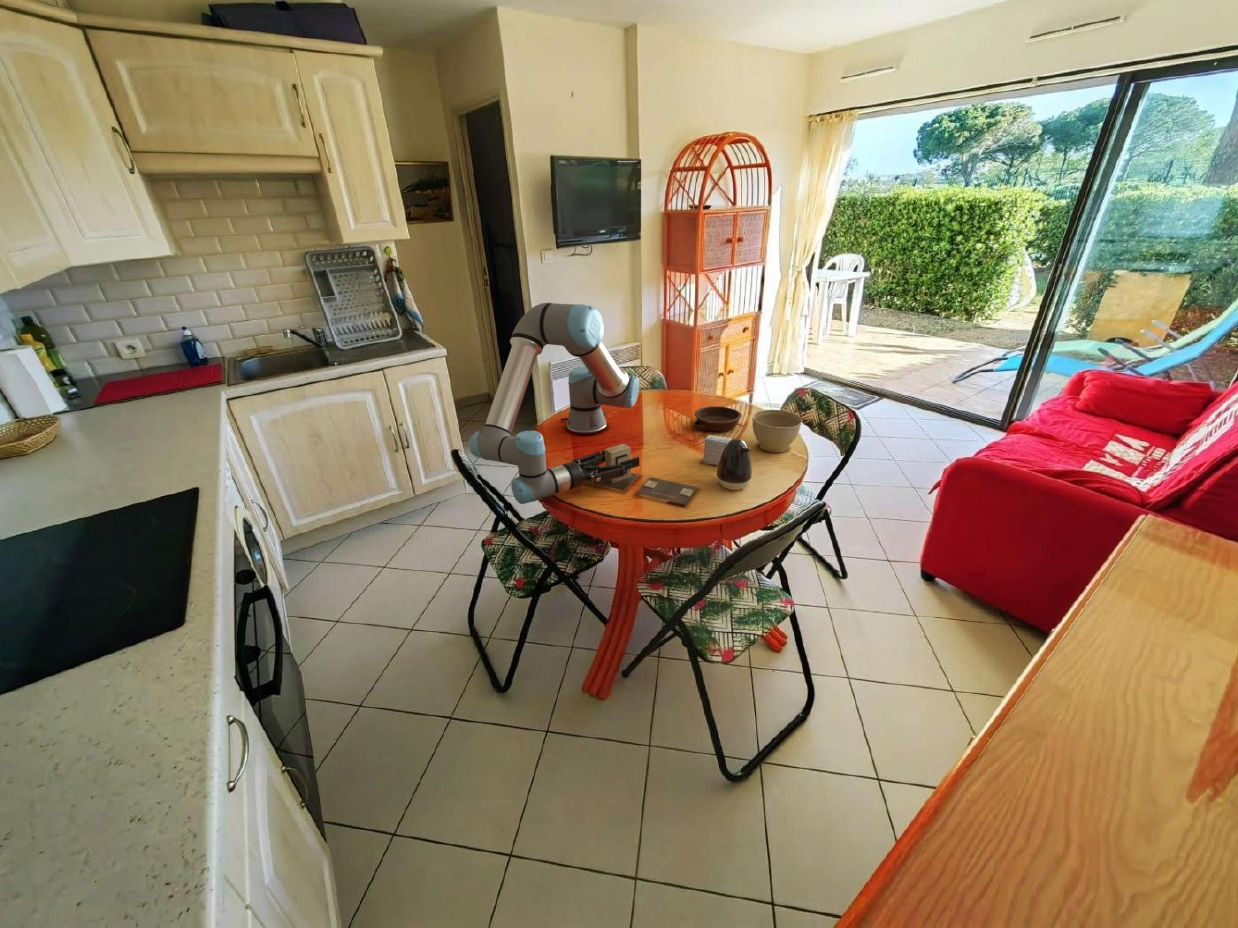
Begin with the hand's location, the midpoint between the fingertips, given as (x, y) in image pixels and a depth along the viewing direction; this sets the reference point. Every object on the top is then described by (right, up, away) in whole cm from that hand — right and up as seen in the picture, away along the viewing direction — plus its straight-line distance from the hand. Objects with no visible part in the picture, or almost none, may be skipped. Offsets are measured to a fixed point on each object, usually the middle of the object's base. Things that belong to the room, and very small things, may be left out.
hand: (631, 457), depth 157 cm
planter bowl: (+50, +4, +20) cm, 54 cm away
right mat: (+10, -11, -7) cm, 16 cm away
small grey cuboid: (-4, -6, 0) cm, 8 cm away
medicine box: (+28, -2, +10) cm, 30 cm away
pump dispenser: (+30, -9, -4) cm, 32 cm away
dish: (+34, +12, +38) cm, 53 cm away
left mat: (-6, -7, 0) cm, 10 cm away
